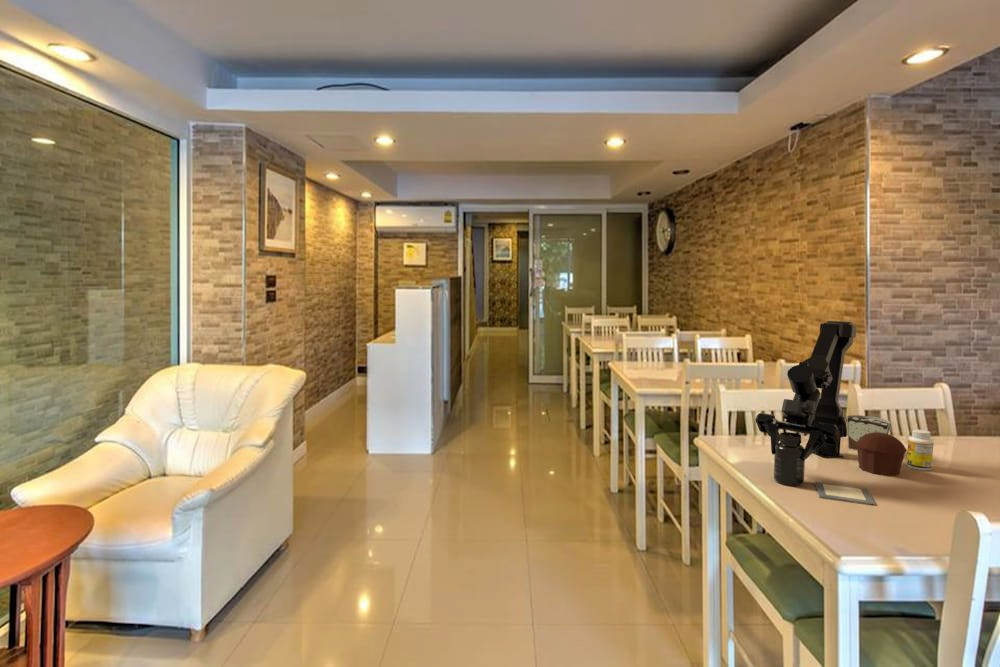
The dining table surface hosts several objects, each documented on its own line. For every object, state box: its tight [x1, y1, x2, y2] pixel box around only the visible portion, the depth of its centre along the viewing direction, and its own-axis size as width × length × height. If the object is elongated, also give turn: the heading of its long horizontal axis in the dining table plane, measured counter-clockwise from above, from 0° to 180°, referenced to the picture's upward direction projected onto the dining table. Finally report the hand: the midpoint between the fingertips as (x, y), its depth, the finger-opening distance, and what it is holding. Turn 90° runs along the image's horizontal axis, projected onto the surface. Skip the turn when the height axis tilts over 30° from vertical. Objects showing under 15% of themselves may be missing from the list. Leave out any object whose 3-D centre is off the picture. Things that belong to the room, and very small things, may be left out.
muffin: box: [856, 432, 908, 477], centre depth 154 cm, size 12×11×10 cm
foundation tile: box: [814, 481, 876, 506], centre depth 137 cm, size 11×11×1 cm
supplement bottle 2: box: [906, 428, 935, 471], centre depth 157 cm, size 6×6×10 cm
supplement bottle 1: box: [773, 431, 806, 487], centre depth 144 cm, size 7×7×12 cm
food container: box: [845, 414, 893, 451], centre depth 173 cm, size 12×6×10 cm, turn 34°
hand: (787, 456), depth 143 cm, fingers closed on supplement bottle 1, 7 cm apart
